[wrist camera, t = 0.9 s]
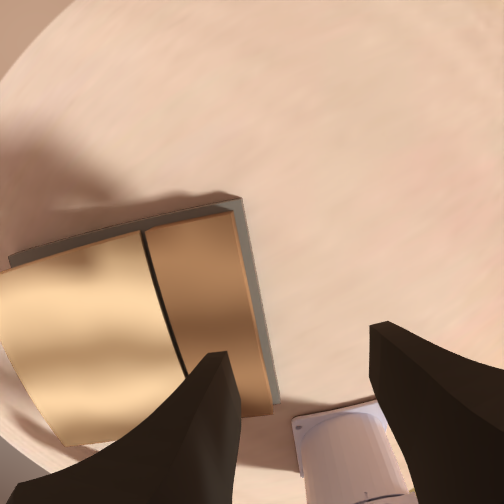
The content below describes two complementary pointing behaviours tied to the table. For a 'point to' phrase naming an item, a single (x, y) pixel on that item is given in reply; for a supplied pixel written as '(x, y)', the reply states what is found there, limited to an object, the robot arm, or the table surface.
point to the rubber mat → (145, 225)
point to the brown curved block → (211, 300)
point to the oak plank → (90, 338)
